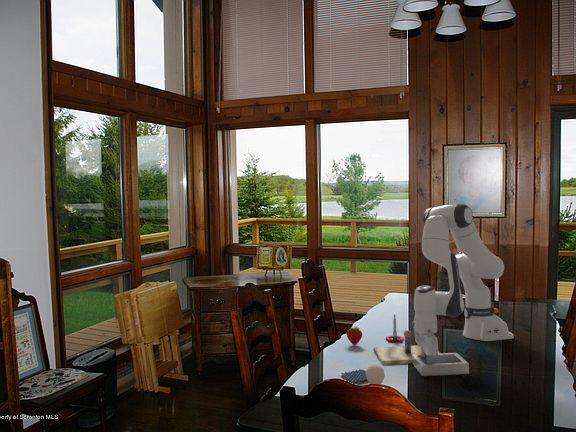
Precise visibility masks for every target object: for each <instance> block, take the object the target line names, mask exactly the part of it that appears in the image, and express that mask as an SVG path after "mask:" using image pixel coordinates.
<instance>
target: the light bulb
mask: <svg viewBox="0 0 576 432" xmlns="http://www.w3.org/2000/svg"><path fill="white" fill-rule="evenodd" d="M365 371H366V378H367V380H368V382H367V383H369V385H370V384H381V385H382V383H383V382H384V379H385V378H386V377H385V376H386V374H385V370H384V368H383V367H382V366H381V365H379V364H370V365H369V366H368V367H367V368H366V370H365Z"/></svg>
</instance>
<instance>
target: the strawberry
mask: <svg viewBox="0 0 576 432" xmlns="http://www.w3.org/2000/svg"><path fill="white" fill-rule="evenodd" d="M345 334H346V337H347V339H348V341H349V342H350V343H351V344H352V345H353V346H356V345H357V344H358V343H359V342H360V341H361V339H362V337H363V332H362V330H361V328H359V327H358V326H354V327H349V328H348V329H347V330H346V333H345Z"/></svg>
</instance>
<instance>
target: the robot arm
mask: <svg viewBox="0 0 576 432" xmlns="http://www.w3.org/2000/svg"><path fill="white" fill-rule="evenodd" d="M473 219H474V216H473V211H472V209H471V208H470V206H469V205H467V204H464V203H458V204H445V205H440V206H439V205H438V206H436V207H435V206H432V207H429V208H427V209H425V211H424V213H423V214H422V223H423V225H424V226H423V230H422V235H421V236H422V238H421V251H422V254H423V256H424V257H425V258H426V259H427V260H429V261H431V262H433V263H434V264H437V265H439V266H442V267H443V268H444V267H445V268H446V269H447V271H448V277H449V285H450V291H449V292H441V291H437V290H436V289H435V287H434V286H432V285H425V284H424V285H420V286H417V287H416V288H415V290H414V299H413V309H414V320H413V321H412V327H413V335H414V340H415V343H416V344H417V345H419V346H420V347H421V352H422V354H426V362H427V363H431V357H436V356H438V351H439V344H438V343H439V342H438V338H437V336H436V335H435V334H436V333H438V317H437V316H447V317H451V318H457V317H459V316H460V315H461V314H463V312H464V319H465V320H464V321H465V322H464V326H463V331H462V332H463V333H462V336H463V337H465V338H467V339H471V340H477V341H483V342H493V341H494V342H495V341H502V340H510V339H514V337H515V336H514V333H512V332H511V331H509V328H508V323H506V322H505V321H504V320H503V319H502V318H500V317H499V316H498V315H496V314H498V313H499V309H498V308H497V307H493V306H492V305H491V290H490V288H489V287H487V286H486V284H485V283H484V282H483V281H482V279H486V280H493V279H499V278H500V277H502V275H503V274H504V272H505V271H504V270H505V264H504V262H503V259H501V258H500V257H499V256H496V255H495V254H494V253H493V252H492V251H491V250H489V248H487V246H486V245H485V244H484V242H483V240H482V239H481V237H480V236H481V235H480V234H479V232H478V230H477V227H476V224H475V221H474V220H473ZM449 230H450V231H449ZM450 234H451V237H452V239H453V242H454V244H455V246H456V249H457V250H458V251H459V252H460V253H457V254H455V253H453V252H452V251H451V249H450ZM460 278H461V280H462V283H463V285H464V294H465V295H464V296H465V302H464V298H463V293H462V292H461V285H460Z"/></svg>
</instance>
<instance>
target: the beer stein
mask: <svg viewBox="0 0 576 432" xmlns="http://www.w3.org/2000/svg"><path fill="white" fill-rule="evenodd" d="M436 275H437V278H438V280H437V281H438V282H437V287H436V288H437V289H436V291H441V292H449V291H450V285H449V277H448V271H447V269H446V268H445V267H443V268H442V269H441V270H439V271H438V273H437V274H436ZM460 285H461V292H462V294H463V293H465V289H464V285H463V283H462V280H461V278H460Z"/></svg>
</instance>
